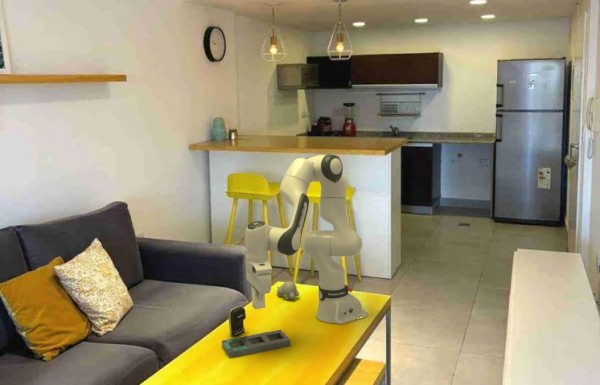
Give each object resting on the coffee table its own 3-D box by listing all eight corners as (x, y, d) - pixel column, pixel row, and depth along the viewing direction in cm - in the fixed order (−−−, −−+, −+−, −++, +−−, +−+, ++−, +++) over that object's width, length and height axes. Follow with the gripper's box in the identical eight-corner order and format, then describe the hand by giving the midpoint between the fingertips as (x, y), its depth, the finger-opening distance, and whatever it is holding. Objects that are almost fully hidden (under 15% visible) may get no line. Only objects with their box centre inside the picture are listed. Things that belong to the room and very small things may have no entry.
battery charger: (235, 338, 245) (234, 311, 243) (229, 335, 247) (227, 309, 245) (247, 332, 250) (246, 306, 248) (241, 330, 252) (240, 304, 250)
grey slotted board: (280, 335, 247) (280, 329, 246) (290, 346, 237) (290, 339, 236) (221, 346, 238) (221, 340, 237) (229, 358, 228) (229, 351, 227)
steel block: (261, 305, 237) (261, 285, 236) (265, 307, 233) (264, 287, 232) (252, 306, 235) (251, 286, 234) (255, 309, 232) (254, 289, 231)
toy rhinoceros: (284, 299, 294) (279, 282, 294) (302, 295, 286) (297, 278, 286) (275, 303, 288) (269, 286, 289) (292, 299, 280) (287, 281, 281)
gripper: (241, 257, 240) (242, 290, 242) (257, 271, 221) (258, 307, 223) (256, 256, 242) (257, 288, 245) (273, 269, 224) (274, 304, 226)
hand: (258, 297), depth 234 cm, fingers closed on steel block, 4 cm apart
